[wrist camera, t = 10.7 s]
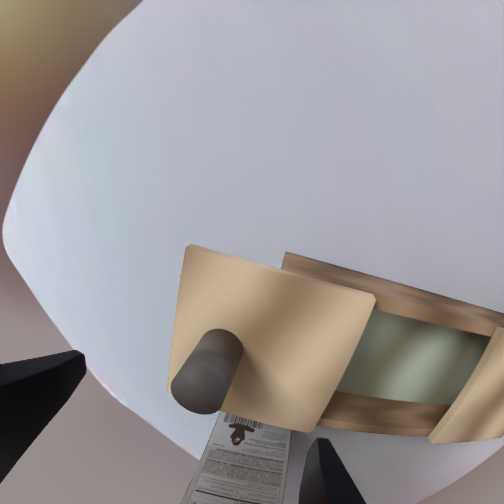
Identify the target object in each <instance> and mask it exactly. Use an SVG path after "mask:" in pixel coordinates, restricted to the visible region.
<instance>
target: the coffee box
mask: <svg viewBox="0 0 504 504" xmlns="http://www.w3.org/2000/svg"><path fill="white" fill-rule="evenodd" d="M291 435H292V430H291V429H286V428H282V427H277V426H273V425H269V424H265V423H261V422H257V421H253V420H249V419H246V418H242V417H239V416H235V415H232V414H229V413H225V412H222V411H221V412H220V414H219V417H218V419H217V421H216V424H215V426H214V429H213V431H212V433H211V436H210V438H209V441H208V443H207V445H206V448H205V450H204V453H203V455H202V457H201V460H200V462H199V464H198V466H197V469H196V471H195V473H194V475H193V478H192V480H191V482H190V484H189V486H188V489H187V491H186V493H185V495H184V497H183V500H182V502H181V504H283V499H284V492H285V485H286V478H287V470H288V461H289V454H290V445H291Z"/></svg>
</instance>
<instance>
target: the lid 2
mask: <svg viewBox="0 0 504 504" xmlns="http://www.w3.org/2000/svg"><path fill="white" fill-rule="evenodd" d="M503 435H504V328H501V327H496V329H495V332H494V334H493V336H492V338H491V340H490V342H489V344H488V346H487V348H486V350H485V351H484V353H483V355H482V357H481V359H480V361H479V362H478V364H477V366H476V368H475V369H474V371H473V373H472V374H471V376H470V378H469V379H468V381H467V383H466V384H465V386H464V387H463V389H462V390H461V392H460V394H459V395H458V397H457V398H456V400H455V401H454V402H453V404H452V405H451V407H450V408H449V410H448V411H447V412H446V414H445V415H444V416H443V418H442V419H441V420H440V422H439V423H438V424H437V426H436V427H435V428H434V429H433V431H432V432H431V433H430V434H429V436H428V439H429V442H430V444H431V443H456V442H469V441H479V440H487V439H495V438H501V437H502V436H503Z"/></svg>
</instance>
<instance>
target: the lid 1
mask: <svg viewBox="0 0 504 504" xmlns="http://www.w3.org/2000/svg"><path fill="white" fill-rule="evenodd" d="M375 302H376V299H375V297H374V295H373V294H371V293H367V292H363V291H359V290H356V289H352V288H348V287H345V286H341V285H337V284H333V283H330V282H326V281H322V280H319V279H315V278H311V277H308V276H304V275H300V274H297V273H293V272H290V271H286V270H282V269H279V268H275V267H271V266H268V265H264V264H261V263H257V262H253V261H250V260H246V259H243V258H239V257H235V256H232V255H228V254H225V253H221V252H218V251H214V250H211V249H207V248H203V247H200V246H196V245H193V244H191V245H189V246H187V247H186V249H185V255H184V261H183V267H182V273H181V279H180V286H179V292H178V299H177V306H176V314H175V321H174V329H173V337H172V346H171V355H170V364H169V374H168V385H167V392H169V393H172V395H173V397H174V398H175V400H176V401H177V402H178V403H179V404H180V405H181V406H183V407H184V408H186V409H187V410H189V411H191V412H194V413H198V414H212V413H215V412H217V411H218V410H219V411H222V412H225V413H229V414H232V415H235V416H239V417H242V418H246V419H249V420H253V421H257V422H261V423H265V424H269V425H273V426H277V427H282V428H286V429H291V430H296V431H301V432H306V433H311V432H312V430H313V429H314V427H315V425H316V424H317V422H318V420H319V419H320V417H321V415H322V413H323V412H324V410H325V408H326V406H327V404H328V403H329V401H330V399H331V397H332V395H333V393H334V391H335V390H336V388H337V386H338V384H339V382H340V380H341V378H342V376H343V374H344V372H345V370H346V368H347V366H348V364H349V362H350V360H351V357H352V355H353V353H354V351H355V349H356V347H357V345H358V342H359V340H360V338H361V336H362V333H363V331H364V329H365V326H366V324H367V321H368V319H369V317H370V314H371V312H372V309H373V307H374V304H375Z"/></svg>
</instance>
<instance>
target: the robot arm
mask: <svg viewBox="0 0 504 504" xmlns="http://www.w3.org/2000/svg"><path fill="white" fill-rule="evenodd" d="M85 374H86V361H85V356H84V354H83V353H81V352H79V351H78V350H72V351H67V352H62V353H58V354H53V355H48V356H43V357H39V358H33V359H27V360H22V361H17V362H11V363H5V364H3V365H2V364H0V483H1V482H2V481H3V479H4V478H5V477H6V476H7V474H8V473H9V472H10V470H11V469H12V468H13V467H14V465H15V464H16V462H17V461H18V460H19V459H20V457H21V456H22V455H23V454H24V452H25V451H26V450H27V449H28V447H29V446H30V445H31V444H32V442H33V441H34V440H35V439H36V438H37V436H38V435H39V434H40V433H41V432H42V430H43V429H44V428H45V427H46V425H47V424H48V423H49V422H50V421H51V420H52V418H53V417H54V416H55V415H56V414H57V412H58V411H59V410H60V409H61V408H62V407H63V405H64V404H65V403H66V402H67V400H68V399H69V398H70V396H71V395H72V393H73V392H74V390H75V389H76V387H77V386H78V384H79V383H80V381H81V380H82V379H83V377H84V375H85ZM299 504H366V502H365V501H364V499H363V497H362V496H361V494H360V492H359V490H358V489H357V487H356V485H355V484H354V482H353V480H352V479H351V477H350V475H349V473H348V472H347V470H346V468H345V467H344V465H343V463H342V461H341V460H340V458H339V456H338V454H337V453H336V451H335V449H334V447H333V446H332V444H331V442H330V440H329V439H326V438H320V437H319V438H316V440H315V441H314V443H313V444H312V446H311V447H310V449H309V451H308V453H307V457H306V462H305V467H304V472H303V477H302V482H301V487H300V493H299Z"/></svg>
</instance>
